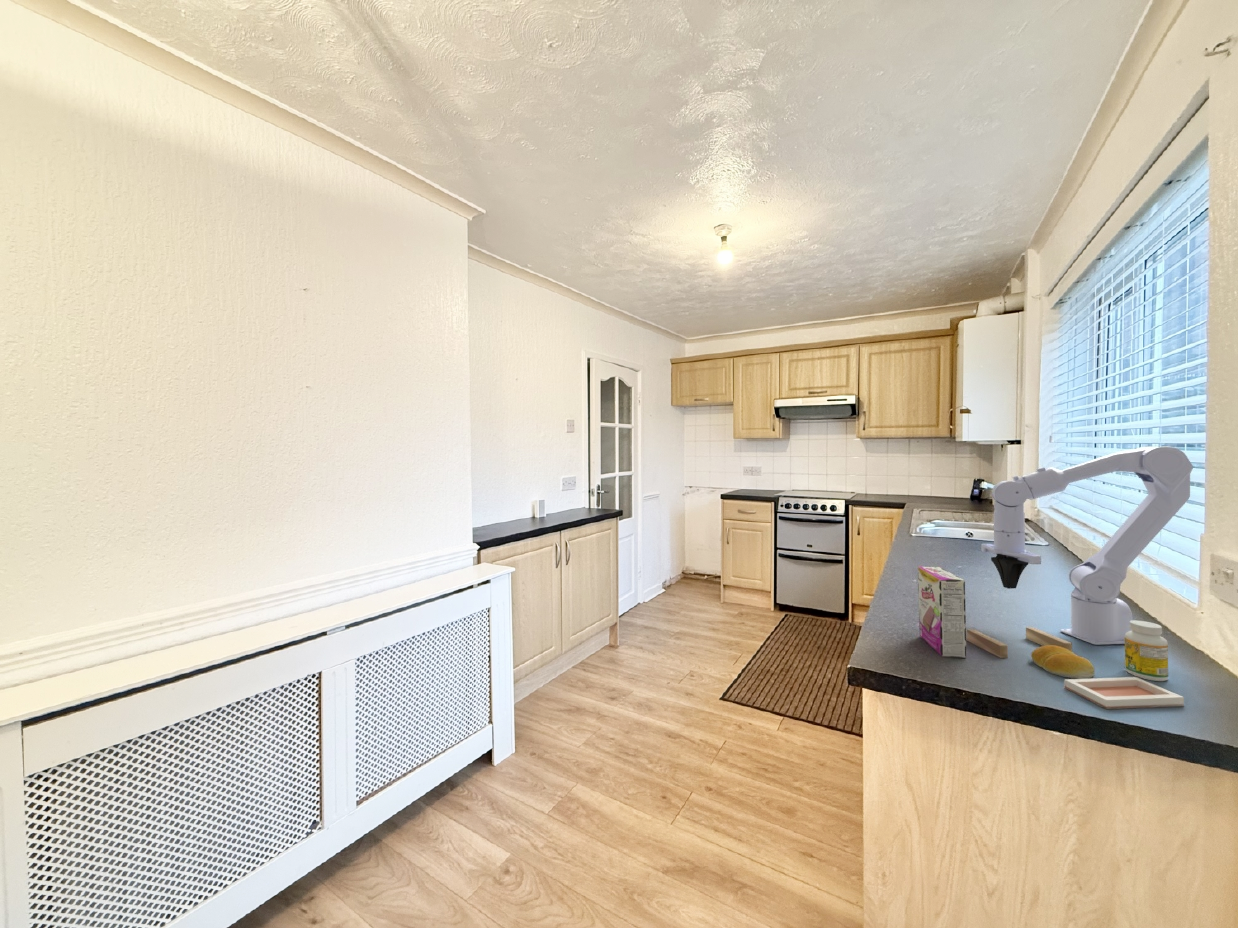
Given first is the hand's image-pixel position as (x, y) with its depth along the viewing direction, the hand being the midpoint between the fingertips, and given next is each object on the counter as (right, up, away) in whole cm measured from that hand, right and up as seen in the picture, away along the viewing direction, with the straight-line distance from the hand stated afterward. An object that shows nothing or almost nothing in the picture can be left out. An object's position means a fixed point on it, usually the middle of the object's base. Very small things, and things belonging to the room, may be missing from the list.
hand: (1009, 587), depth 112 cm
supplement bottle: (+5, -10, -25) cm, 27 cm away
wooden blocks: (-8, -10, -12) cm, 17 cm away
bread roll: (-8, -11, -21) cm, 25 cm away
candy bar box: (-24, -11, -10) cm, 28 cm away
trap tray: (-8, -10, -32) cm, 34 cm away
